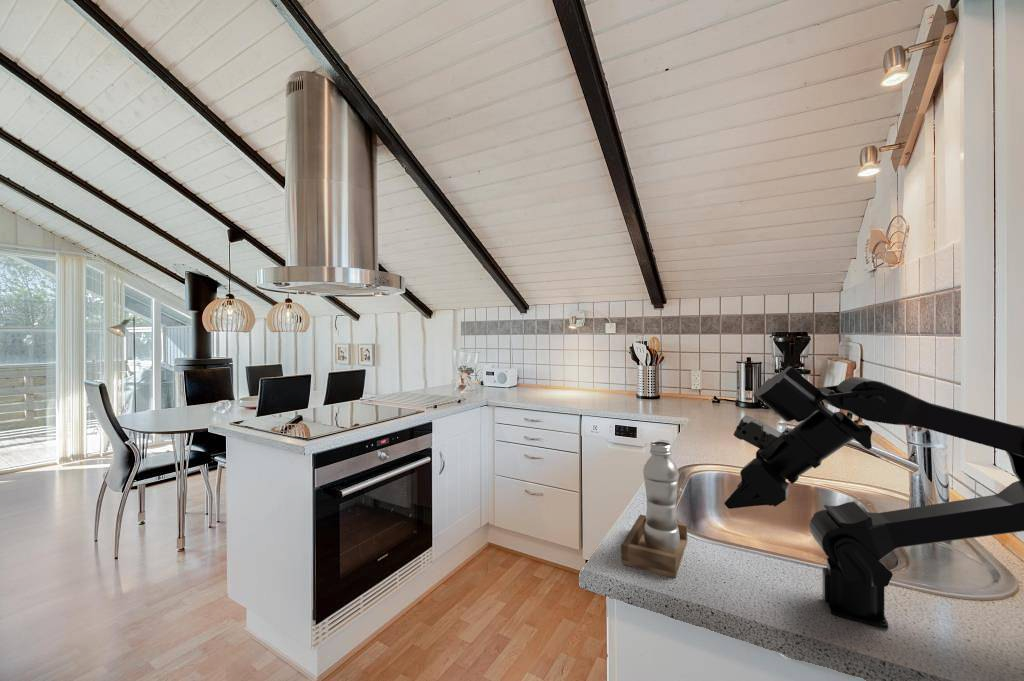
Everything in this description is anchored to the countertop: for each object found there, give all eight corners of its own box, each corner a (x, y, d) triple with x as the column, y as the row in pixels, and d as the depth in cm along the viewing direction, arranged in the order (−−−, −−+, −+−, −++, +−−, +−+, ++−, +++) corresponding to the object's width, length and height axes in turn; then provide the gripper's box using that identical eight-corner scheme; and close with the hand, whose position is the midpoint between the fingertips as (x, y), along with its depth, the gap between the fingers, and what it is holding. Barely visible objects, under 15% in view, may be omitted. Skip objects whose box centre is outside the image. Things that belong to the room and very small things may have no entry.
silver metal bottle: (645, 557, 77) (643, 447, 76) (642, 539, 83) (641, 438, 83) (683, 560, 75) (681, 449, 75) (677, 542, 82) (676, 439, 81)
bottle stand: (687, 541, 84) (687, 523, 84) (675, 578, 71) (675, 557, 71) (640, 531, 88) (640, 514, 88) (621, 564, 76) (621, 544, 76)
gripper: (775, 394, 75) (711, 446, 82) (756, 410, 61) (680, 472, 68) (832, 444, 70) (758, 495, 78) (824, 474, 56) (735, 534, 63)
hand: (733, 497), depth 72 cm, fingers open, 9 cm apart
